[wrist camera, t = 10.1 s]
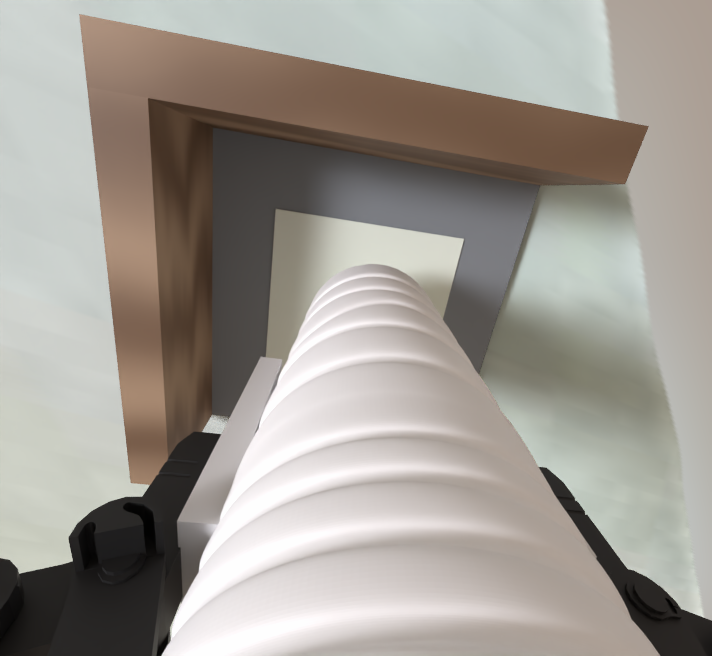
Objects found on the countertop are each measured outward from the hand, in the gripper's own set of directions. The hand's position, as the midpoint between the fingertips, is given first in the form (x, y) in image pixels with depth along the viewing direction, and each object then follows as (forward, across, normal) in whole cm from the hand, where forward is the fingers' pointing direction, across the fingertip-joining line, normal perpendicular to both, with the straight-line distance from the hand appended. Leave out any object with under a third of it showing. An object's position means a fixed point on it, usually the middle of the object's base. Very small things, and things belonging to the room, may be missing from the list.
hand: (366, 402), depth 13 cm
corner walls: (+10, -1, +1) cm, 11 cm away
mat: (+10, 0, 0) cm, 10 cm away
